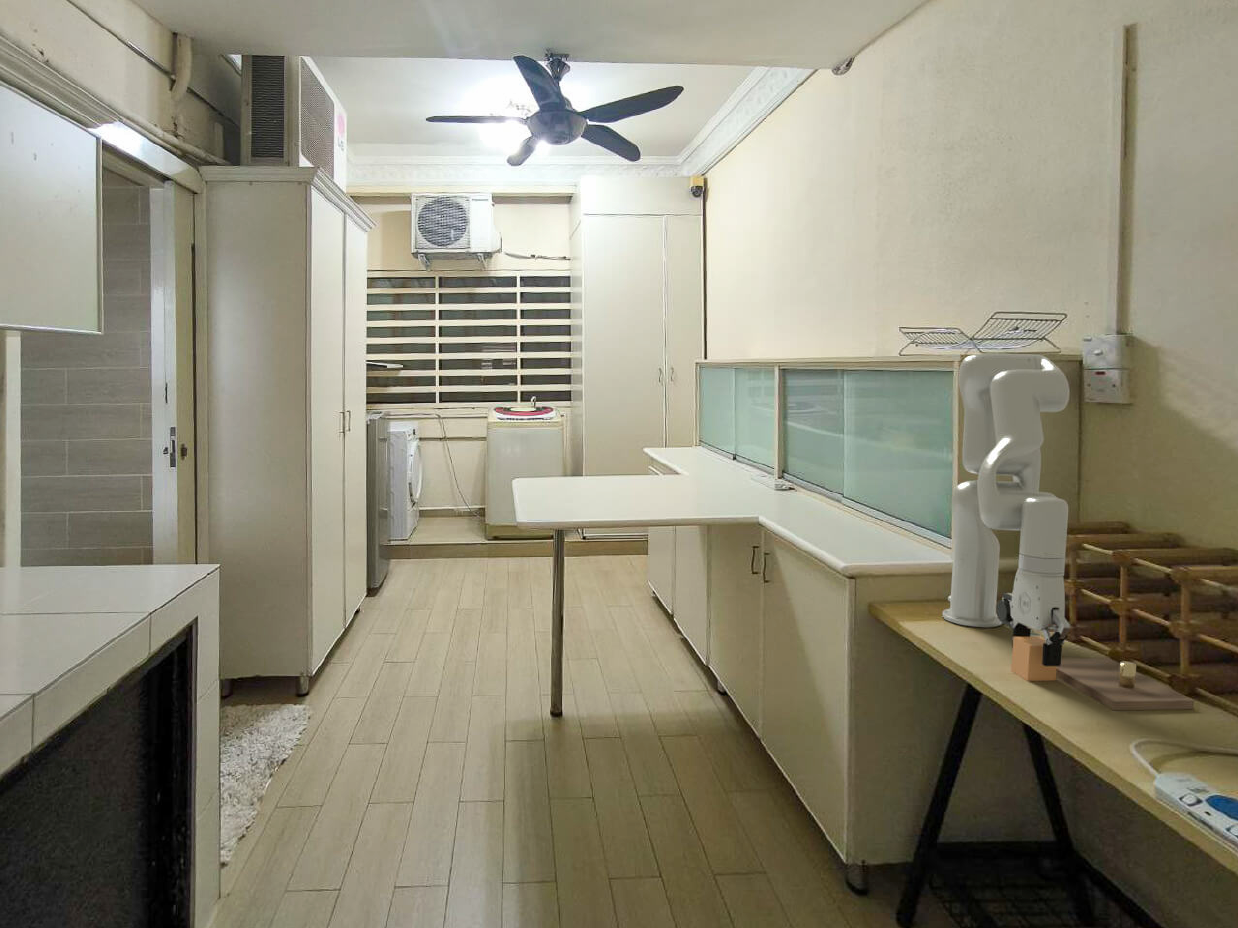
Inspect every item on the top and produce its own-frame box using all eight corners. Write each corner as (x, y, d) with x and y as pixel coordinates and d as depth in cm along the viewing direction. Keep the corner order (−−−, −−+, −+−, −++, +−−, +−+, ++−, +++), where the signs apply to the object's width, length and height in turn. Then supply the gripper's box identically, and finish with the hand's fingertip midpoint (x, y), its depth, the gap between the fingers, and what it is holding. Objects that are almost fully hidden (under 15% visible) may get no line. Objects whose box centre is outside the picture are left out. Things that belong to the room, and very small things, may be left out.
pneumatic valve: (1061, 652, 175) (1065, 593, 174) (1004, 652, 174) (1008, 593, 173) (1046, 643, 181) (1050, 586, 179) (991, 643, 180) (994, 586, 179)
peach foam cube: (1011, 670, 163) (1013, 636, 163) (1038, 670, 164) (1041, 636, 163) (1027, 680, 158) (1029, 645, 157) (1055, 680, 158) (1058, 645, 158)
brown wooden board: (1038, 666, 166) (1040, 637, 166) (1107, 665, 168) (1109, 637, 167) (1114, 710, 144) (1117, 678, 144) (1193, 708, 146) (1196, 676, 145)
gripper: (996, 555, 167) (991, 643, 168) (1049, 574, 150) (1043, 672, 151) (1033, 556, 167) (1028, 643, 169) (1091, 574, 150) (1084, 672, 152)
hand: (1035, 657), depth 160 cm, fingers open, 9 cm apart
